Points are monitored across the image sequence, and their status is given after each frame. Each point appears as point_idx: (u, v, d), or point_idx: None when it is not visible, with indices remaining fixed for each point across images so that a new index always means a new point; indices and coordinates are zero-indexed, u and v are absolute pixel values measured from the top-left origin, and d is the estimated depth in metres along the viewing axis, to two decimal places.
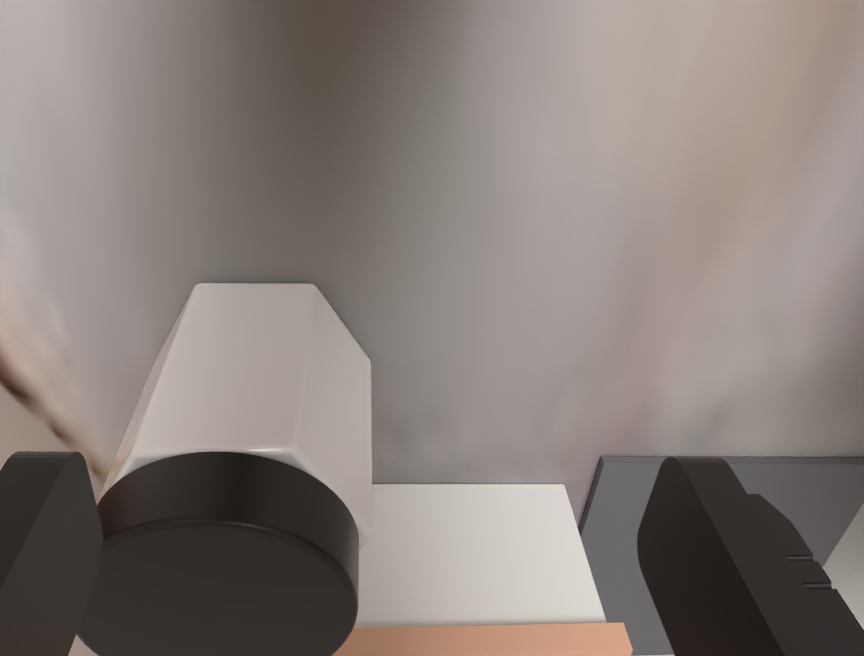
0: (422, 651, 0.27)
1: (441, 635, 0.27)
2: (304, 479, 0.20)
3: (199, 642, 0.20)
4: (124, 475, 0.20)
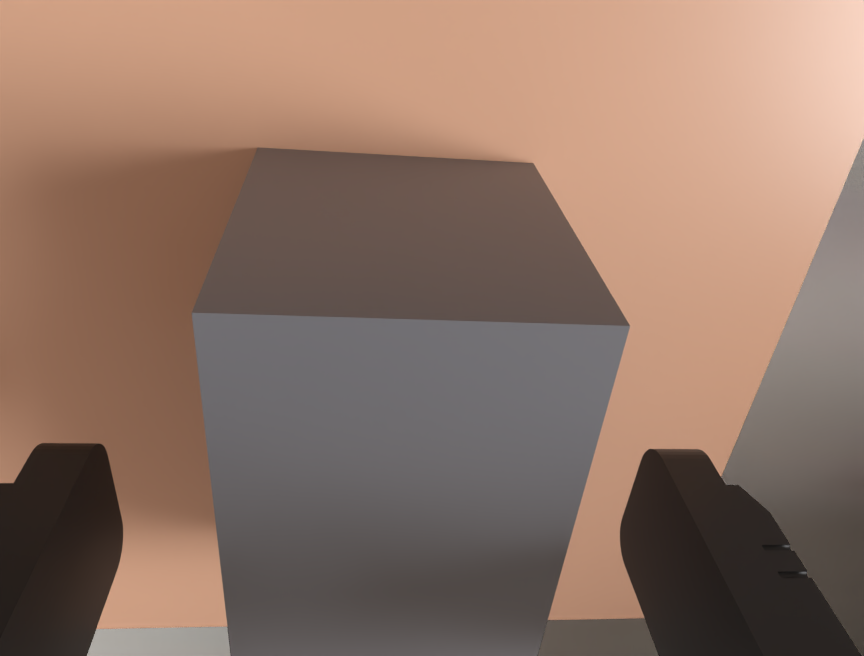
0: None
1: None
2: None
3: None
4: None
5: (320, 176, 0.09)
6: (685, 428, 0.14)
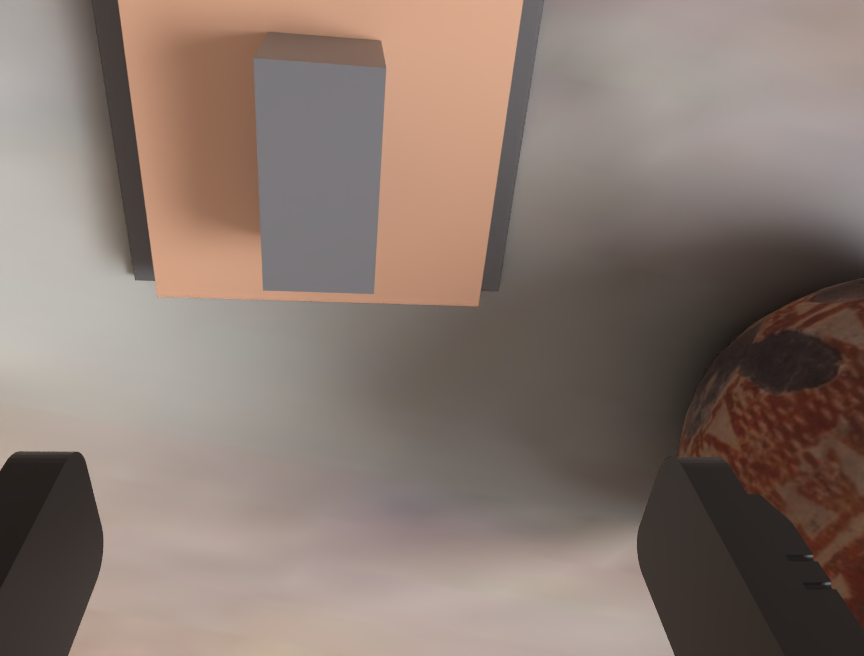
0: None
1: None
2: None
3: None
4: None
5: (293, 39, 0.24)
6: (469, 180, 0.28)
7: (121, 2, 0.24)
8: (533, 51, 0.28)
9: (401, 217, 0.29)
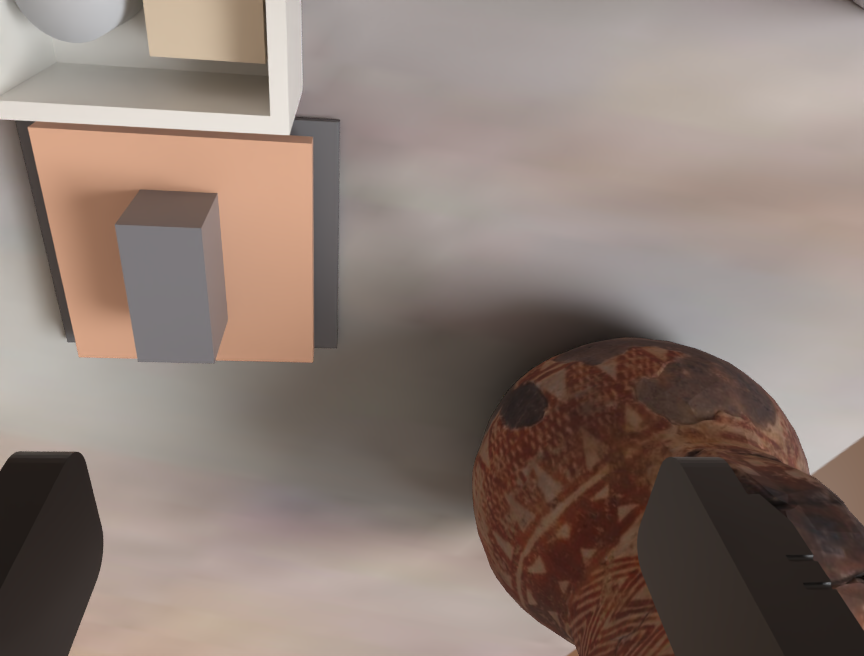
0: (312, 240, 0.40)
1: (313, 248, 0.41)
2: None
3: None
4: None
5: (153, 197, 0.36)
6: (292, 279, 0.41)
7: (40, 174, 0.36)
8: (336, 189, 0.40)
9: (247, 303, 0.41)
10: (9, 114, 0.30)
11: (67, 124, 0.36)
